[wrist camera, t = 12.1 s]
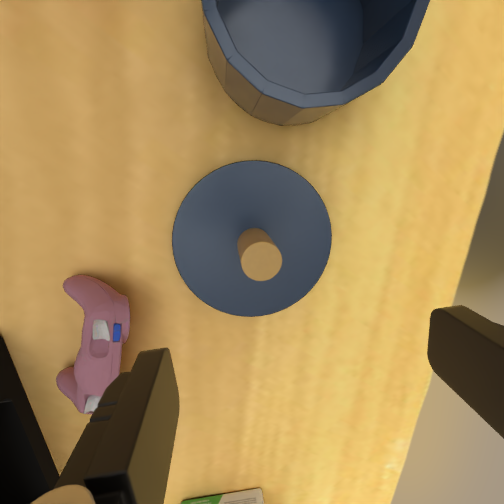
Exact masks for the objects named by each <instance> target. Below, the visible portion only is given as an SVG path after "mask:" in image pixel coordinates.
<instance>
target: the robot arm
mask: <svg viewBox="0 0 504 504" xmlns="http://www.w3.org/2000/svg"><path fill="white" fill-rule="evenodd" d="M427 354H428V360H429V363H430V365H431V367H432V369H433V370H434V372H435V373H436V374H437V375H438V376H439V377H440V378H441V379H442V380H443V381H444V382H445V383H447V385H448V386H449V387H450V388H452V389H453V390H454V391H455V392H456V393H457V394H458V395H459V396H460V397H461V398H462V399H463V400H464V401H465V402H466V403H467V404H468V405H469V406H470V407H471V408H473V409H474V410H475V411H476V412H477V413H478V414H479V415H480V416H481V417H482V418H483V419H484V420H485V421H486V422H487V423H488V424H489V425H490V426H491V427H492V428H493V429H494V430H495V431H496V432H498V433H499V434H500V435H501V436H502V437H503V438H504V326H503V325H500V324H497V323H494V322H491V321H490V320H488V319H486V318H485V317H483V316H481V315H479V314H477V313H476V312H474V311H472V310H470V309H469V308H467V307H465V306H462V305H459V306H452V307H445V308H438V309H435V310H433V311H432V313H431V317H430V328H429V339H428V351H427ZM97 405H98V407H97V408H95V410H94V412H93V414H92V416H91V418H90V423H88V424H87V425H86V427H85V429H84V431H83V433H82V435H81V437H80V439H79V441H78V443H77V445H76V446H75V448H74V450H73V452H72V454H71V456H70V458H69V460H68V462H67V464H66V466H65V467H64V469H63V471H62V473H61V475H60V477H59V479H58V481H57V483H56V485H55V487H54V488H53V490H51V491H49V492H47V493H45V494H44V495H42V496H41V497H39V498H37V499H36V500H35V501H33V502H32V503H31V504H164V498H165V492H166V487H167V481H168V475H169V469H170V463H171V458H172V452H173V446H174V440H175V434H176V429H177V423H178V417H179V392H178V387H177V382H176V378H175V373H174V368H173V363H172V359H171V354H170V351H169V349H168V348H160V349H154V350H147V351H141V352H140V353H139V354H138V357H137V359H136V361H135V363H134V366H133V368H132V370H131V372H124V373H121V374H120V375H119V376H118V377H117V378H116V379H115V380H114V381H113V382H112V383H111V384H110V385H109V386H108V387H107V388H106V389H105V391H104V393H103V395H102V397H101V399H100V401H99V403H98V404H97Z"/></svg>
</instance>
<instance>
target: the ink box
mask: <svg viewBox="0 0 504 504" xmlns="http://www.w3.org/2000/svg"><path fill="white" fill-rule="evenodd" d="M181 504H264V500H263V494H262V490H261V489H260V488H257V489H251V490H245V491H240V492H234V493H228V494H222V495H216V496H210V497H204V498H198V499H192V500H186V501H183V502H181Z"/></svg>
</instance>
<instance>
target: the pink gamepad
mask: <svg viewBox="0 0 504 504" xmlns="http://www.w3.org/2000/svg"><path fill="white" fill-rule="evenodd" d="M63 288H64V290H65V292H66V293H67V294H68V295H69V296H70V297H71V298H73V299H74V300H75V301H76V302H77V303H78V304H79V305H80V306H81V307H82V308H83V310H84V313H85V319H84V324H83V330H82V342H81V348H80V350H79V352H78V354H77V357H76V360H75V364H74V367H67V368H65V369H63V370H62V371H60V372H59V374H58V375H57V377H56V382H57V386H58V388H59V389H60V390H61V392H62V393H63V394H65V395H66V396H67V397H68V398H69V399H70V400H71V401H72V402H73V403H74V405H75V406H76V408H77V409H78V411H79V412H81V413H84V414H93V412H94V410H95V408H97V407H98V405H97V404H98V403H99V401H100V399H101V397H102V395H103V393H104V391H105V389H106V388H107V387H108V386H109V385H110V384H111V383H112V382H113V381H114V380H115V379H116V378H117V377H118V376H119V372H120V363H121V351H122V344H123V343H125V342H126V341H127V338H128V335H129V329H130V307H129V302H128V298H127V296H126V295H120V294H119V293H118V292H117V291H116V290H114V289H113V288H112V287H110V286H109V285H108V284H106V283H104V282H102V281H101V280H99V279H96V278H94V277H90V276H86V275H76V276H72V277H69V278H67V279H66V280H65V281H64V283H63Z"/></svg>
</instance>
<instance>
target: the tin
mask: <svg viewBox="0 0 504 504" xmlns="http://www.w3.org/2000/svg"><path fill="white" fill-rule="evenodd" d="M429 2H430V0H201V3H202V11H203V20H204V28H205V36H206V44H207V52H208V58H209V61H210V63H211V65H212V67H213V69H214V72H215V74H216V76H217V78H218V80H219V82H220V83H221V85H222V87H223V89H224V91H225V92H226V93H227V94H228V95H229V96H230V98H231V99H232V100H233V101H234V102H235V103H236V104H237V105H238V106H239V107H241V108H242V109H243V110H244V111H246V112H247V113H249V114H250V115H251V116H254V117H255V118H258V119H260V120H262V121H265V122H268V123H272V124H277V125H280V126H284V125H299V124H305V123H311V122H314V121H316V120H317V119H319V118H321V117H323V116H325V115H327V114H329V113H330V112H332V111H334V110H336V109H338V108H340V107H341V106H343V105H345V104H347V103H349V102H350V101H352V100H354V99H356V98H358V97H359V96H361V95H363V94H365V93H366V92H368V91H370V90H372V89H374V88H375V87H377V86H379V85H381V83H383V82H384V81H385V80H386V78H387V77H388V76H389V75H390V73H391V72H392V71H393V70H394V69H395V67H396V66H397V65H398V64H399V62H400V61H401V60H402V59H403V58H404V56H405V55H406V54H407V53H408V51H409V50H410V49H411V48H412V46H413V44H414V41H415V39H416V36H417V33H418V31H419V28H420V26H421V23H422V20H423V18H424V15H425V12H426V10H427V7H428V4H429Z"/></svg>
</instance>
